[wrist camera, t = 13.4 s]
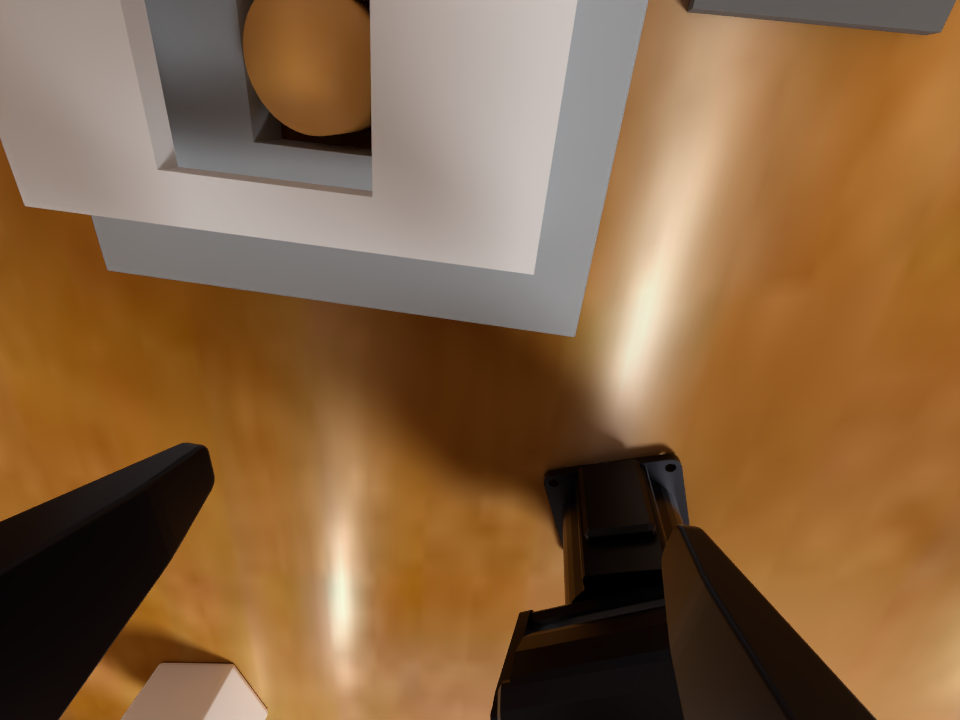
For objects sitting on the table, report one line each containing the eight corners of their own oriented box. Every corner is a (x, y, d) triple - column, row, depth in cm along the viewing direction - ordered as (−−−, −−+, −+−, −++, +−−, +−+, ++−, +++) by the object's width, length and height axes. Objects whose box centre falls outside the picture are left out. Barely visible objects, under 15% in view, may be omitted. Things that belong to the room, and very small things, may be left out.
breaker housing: (572, 316, 20) (581, 393, 14) (144, 256, 21) (8, 307, 16) (694, -263, 12) (811, -558, 7) (1, -305, 13) (-366, -580, 8)
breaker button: (397, 138, 17) (374, 143, 15) (290, 125, 17) (252, 128, 15) (398, 1, 15) (373, -17, 13) (278, -12, 15) (233, -31, 13)
